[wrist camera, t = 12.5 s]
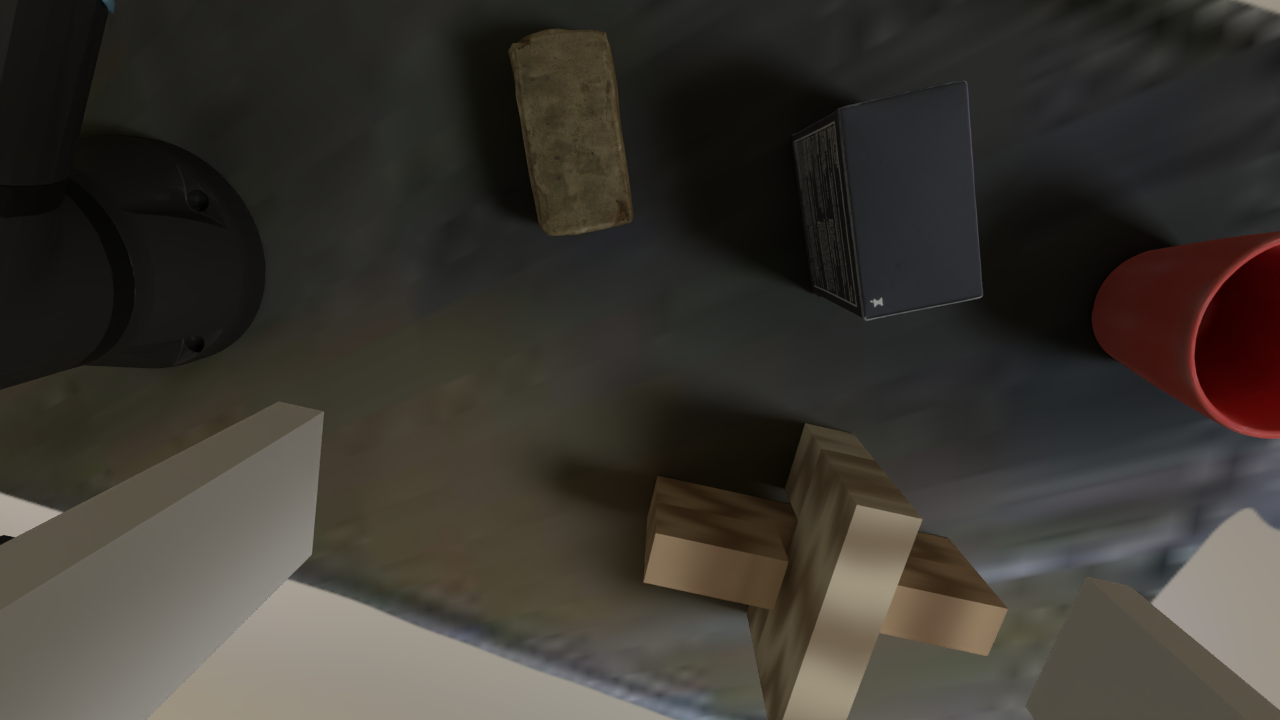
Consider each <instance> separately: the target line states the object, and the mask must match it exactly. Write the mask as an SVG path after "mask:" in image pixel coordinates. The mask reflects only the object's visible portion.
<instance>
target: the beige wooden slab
mask: <svg viewBox="0 0 1280 720" xmlns="http://www.w3.org/2000/svg"><path fill="white" fill-rule="evenodd" d="M785 491H786V493H787V496H788V498H789V500H790V503H791V505H792V508H793V510H794V512H795V515H796V517H797V520H798V523H797V526H796V529H795V532H794V535H793V539H792V542H791V545H790V548H789V551H788V554H787V558H788V561H789V562H788V565H787V569H786V572H785V575H784V578H783V581H782V584H781V587H780V591H779V594H778V597H777V600H776V603H775V606H774V610H770V609H765V608H761V607H756V606H751V605H749V606H748V610H747V617H748V622H749V627H750V632H751V637H752V642H753V647H754V652H755V657H756V662H757V668H758V673H759V678H760V683H761V688H762V693H763V698H764V703H765V708H766V713H767V718H768V720H847V717H848V715H849V712H850V709H851V707H852V704H853V701H854V699H855V696H856V693H857V691H858V688H859V686H860V683H861V680H862V678H863V675H864V672H865V670H866V667H867V664H868V662H869V659H870V657H871V654H872V651H873V649H874V646H875V643H876V641H877V638H878V635H879V633H880V630H881V628H882V625H883V622H884V620H885V617H886V614H887V612H888V609H889V606H890V604H891V601H892V599H893V596H894V593H895V591H896V588H897V585H898V583H899V580H900V578H901V575H902V572H903V570H904V567H905V564H906V562H907V559H908V556H909V554H910V551H911V549H912V546H913V543H914V541H915V538H916V535H917V533H918V530H919V527H920V525H921V522H922V520H923V519H922V518H921V517H920V515H919V514H918V513H917V512H916V511H915V509H914V508H913V507H912V506H911V504H910V503H909V502H908V501H907V499H906V498H905V497H904V496H903V495H902V493H901V492H900V491H899V490H898V488H897V487H896V486H895V485H894V483H893V482H892V481H891V480H890V479H889V477H888V476H887V475H886V474H885V472H884V471H883V470H882V469H881V467H880V466H879V465H878V464H877V463H876V461H875V460H874V459H873V458H872V456H871V455H870V454H869V453H868V451H867V450H866V449H865V448H864V447H863V445H862V444H861V443H860V442H859V440H858V439H857V438H856V437H855V435H854V434H852V433H847V432H843V431H838V430H834V429H829V428H825V427H820V426H816V425H811V424H807V423H805V425H804V429H803V432H802V435H801V438H800V441H799V445H798V448H797V451H796V454H795V458H794V461H793V464H792V467H791V471H790V474H789V477H788V480H787V483H786V487H785Z"/></svg>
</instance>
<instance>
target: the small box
mask: <svg viewBox="0 0 1280 720" xmlns="http://www.w3.org/2000/svg"><path fill="white" fill-rule="evenodd" d="M791 141H792V147H793V156H794V164H795V170H796V178H797V185H798V193H799V200H800V208H801V215H802V222H803V233H804V238H805V244H806V251H807V259H808V265H809V272H810V279H811V285H812V292H813V293H814V294H816V295H817V296H820V297H821V296H822V297H824V298H826V299H828V300H829V301H831V302H833V303H835V304H837V305H839V306H841V307H843V308H845V309H847V310H849V311H850V312H853V313H854V314H856V315H858V316H860V317H861V318H862V319H864V320H866V321H870V320H874V319H878V318H883V317H888V316H894V315H898V314H904V313H910V312H914V311H918V310H923V309H929V308H934V307H939V306H945V305H949V304H954V303H960V302H964V301H971V300H974V299H979V298H981V297H983V288H982V273H981V261H980V249H979V237H978V224H977V211H976V198H975V186H974V171H973V157H972V144H971V130H970V115H969V102H968V87H967V82H966V81H956V82H951V83H946V84H940V85H936V86H931V87H927V88H922V89H917V90H912V91H908V92H904V93H900V94H895V95H891V96H887V97H882V98H877V99H873V100H869V101H864V102H860V103H856V104H852V105H846V106H843V107H840V108H838V109H837V110H836V111H834V112H833V114H830V115H829V116H828V117H825V118H824V119H821V120H819V121H817V122H816V123H814V124H812V125H811V126H809V127H807V128H805V129H803V130H801V131H798V132H795V133H793V134H792V136H791Z"/></svg>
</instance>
